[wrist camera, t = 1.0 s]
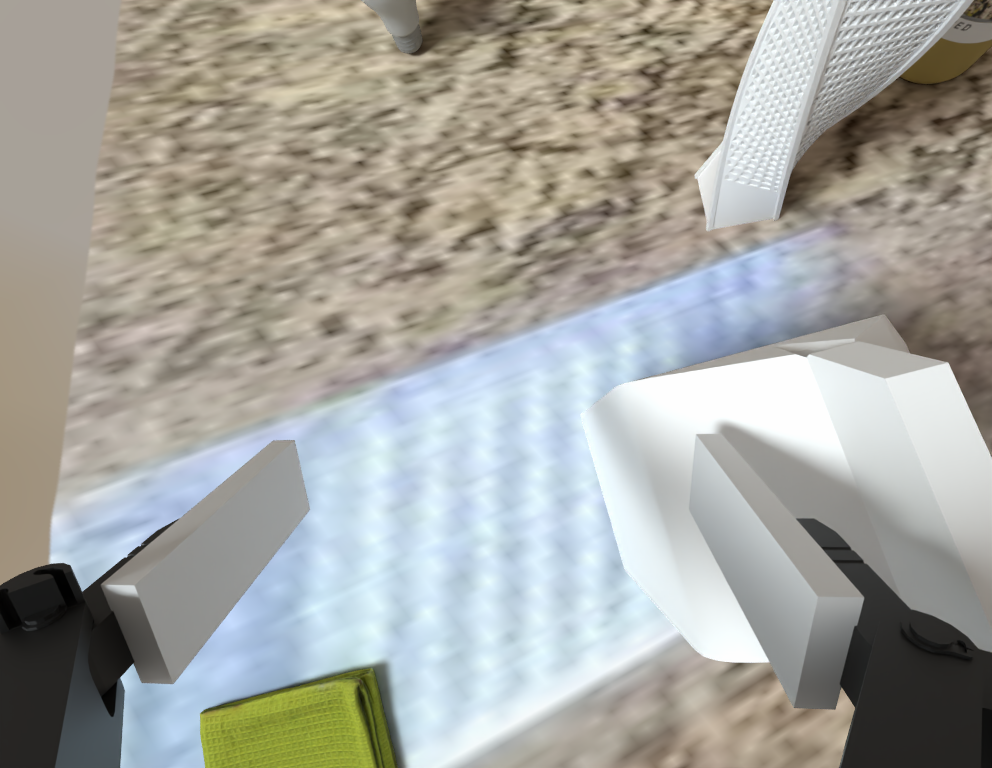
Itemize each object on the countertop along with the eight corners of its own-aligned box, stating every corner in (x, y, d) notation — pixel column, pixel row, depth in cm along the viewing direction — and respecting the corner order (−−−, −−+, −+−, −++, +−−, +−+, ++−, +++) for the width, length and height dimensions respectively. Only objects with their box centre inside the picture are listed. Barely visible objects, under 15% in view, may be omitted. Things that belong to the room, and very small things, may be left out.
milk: (580, 414, 37) (620, 314, 11) (725, 376, 36) (1128, 170, 10) (624, 569, 34) (799, 876, 9) (781, 533, 33) (1476, 767, 8)
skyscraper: (778, 146, 38) (1335, -661, 11) (800, 229, 37) (1498, -448, 9) (679, 165, 39) (957, -531, 12) (697, 246, 38) (1057, -321, 10)
